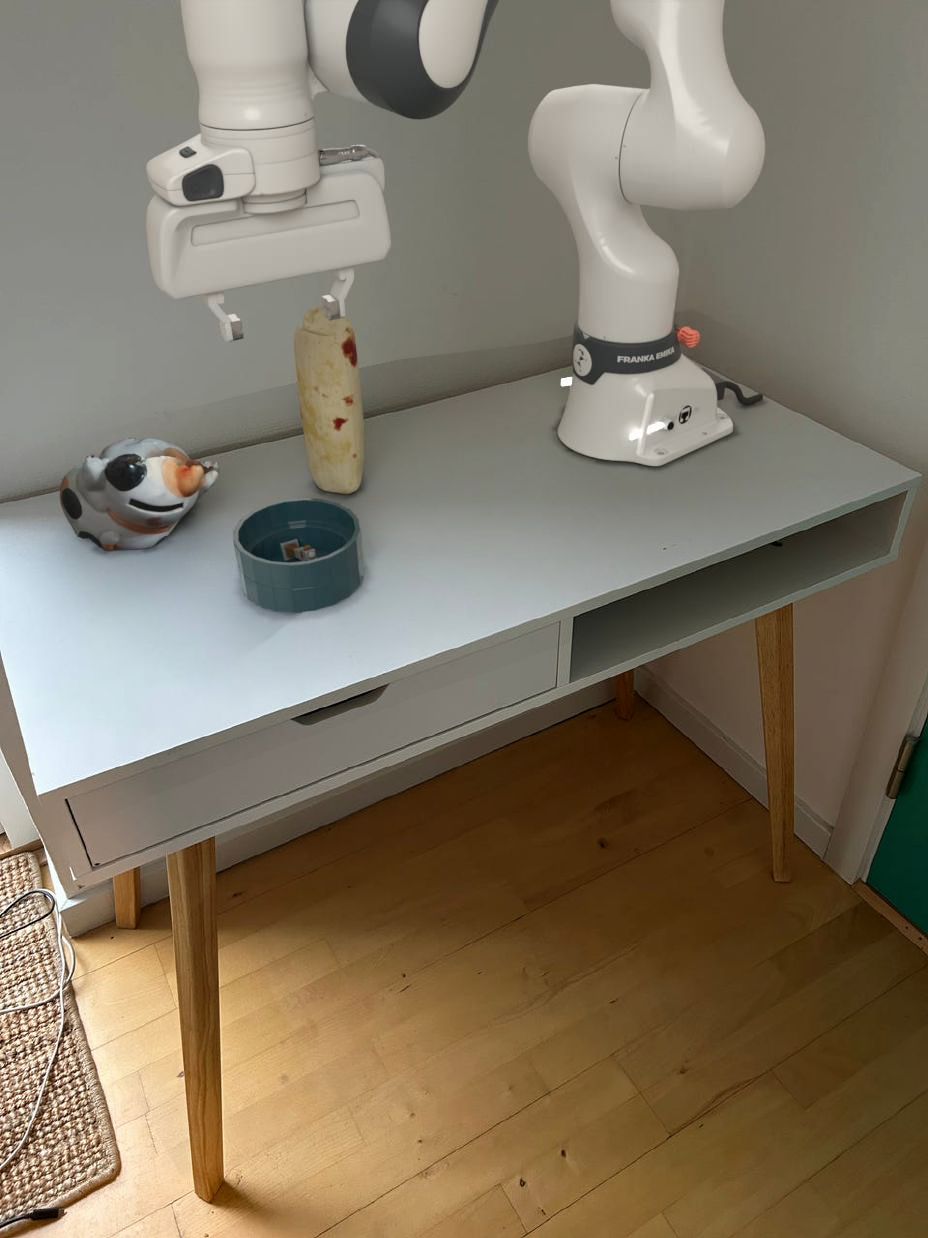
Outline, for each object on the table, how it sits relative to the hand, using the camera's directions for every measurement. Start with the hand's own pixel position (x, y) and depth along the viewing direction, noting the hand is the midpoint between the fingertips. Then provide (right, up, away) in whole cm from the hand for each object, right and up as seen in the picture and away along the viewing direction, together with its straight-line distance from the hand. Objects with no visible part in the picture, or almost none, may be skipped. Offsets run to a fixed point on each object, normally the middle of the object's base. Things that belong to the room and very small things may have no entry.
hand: (284, 327), depth 86 cm
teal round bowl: (-1, -22, +13) cm, 25 cm away
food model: (+1, -10, +29) cm, 31 cm away
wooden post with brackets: (0, -21, +13) cm, 25 cm away
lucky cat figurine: (-19, -15, +22) cm, 33 cm away
